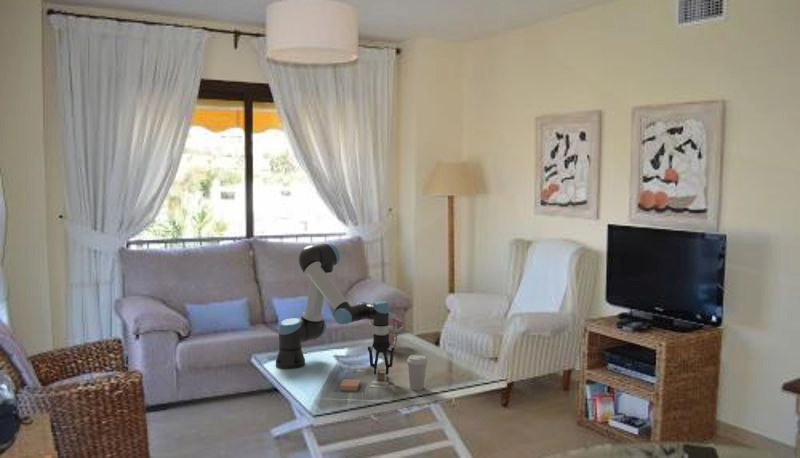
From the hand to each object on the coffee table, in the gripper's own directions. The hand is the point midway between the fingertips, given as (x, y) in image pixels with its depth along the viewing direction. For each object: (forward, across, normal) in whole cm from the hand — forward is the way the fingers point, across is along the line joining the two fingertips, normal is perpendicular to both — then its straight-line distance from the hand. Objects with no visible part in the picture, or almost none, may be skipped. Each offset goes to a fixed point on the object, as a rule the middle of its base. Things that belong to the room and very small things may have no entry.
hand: (381, 380), depth 325 cm
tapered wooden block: (0, 0, -3) cm, 3 cm away
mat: (0, -13, -11) cm, 17 cm away
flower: (0, -3, +57) cm, 57 cm away
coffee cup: (+1, +18, -8) cm, 19 cm away
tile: (-2, -13, -8) cm, 15 cm away
